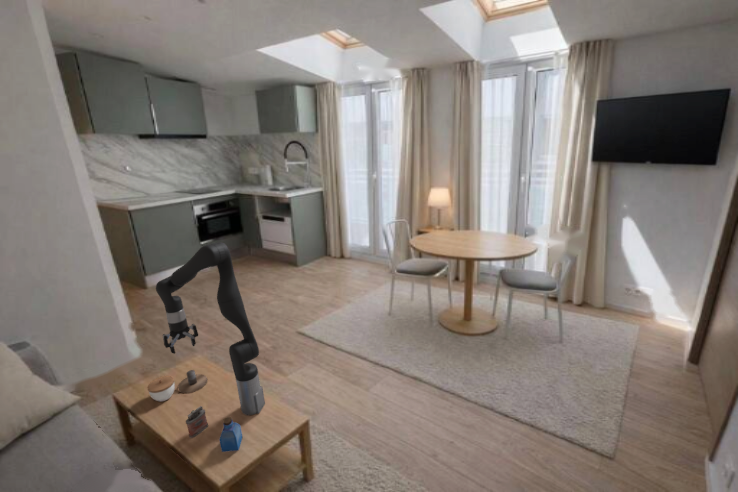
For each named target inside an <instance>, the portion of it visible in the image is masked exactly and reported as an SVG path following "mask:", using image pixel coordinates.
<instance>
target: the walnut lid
mask: <svg viewBox="0 0 738 492" xmlns="http://www.w3.org/2000/svg"><path fill="white" fill-rule="evenodd" d="M185 374H186V377H185V378H184V379H181V381H180V382H179V383H178V387H177V389H178V391H179V392H180V393H182V394H192V393H196V392H198V391H199V390H202V389H203V388H204V387H205V386H206V385H207V383H208V381H209V380H208V377H207V375H205V374H201V373H198V374H196V372H195V370H194V369H190V370H189V371H187V372H186V373H185Z"/></svg>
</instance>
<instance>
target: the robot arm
mask: <svg viewBox="0 0 738 492" xmlns="http://www.w3.org/2000/svg"><path fill="white" fill-rule="evenodd" d="M212 267H213V268H214V267H217V270H218V273H219V283H218V288H217V293H216V300H217V304H218V307H219V310H220V313H221V316H223V317H224V318H225V319H226V320H227V321H228V322H230V323H231V324H233V325H234V326H235V327H236V328H237V329H238V330H239V331H240V334H242V337H243V339H241V340H239V341H237V342H234V343H232V344H231V345H229V347H228V354H229V357H230V362H231V366H232V369H233V373H234V376H235V383H236V388H237V392H238V393H237V395H238V400H239V404H240V409H241V412H242V414H243V415H245V416H252V415H255V414H260V413H261V411H262V409H264V406H265V404H266V400H265V394H264V388H263V385H261V382H260V376H259V375H260V374H259V370H258V369H259V368H258V366H257V365H256V364H254V363H252V362H250V361H252V360H254V359H256V358H258V357H259V356H260V355H259V354H260V348H259V345H258V342H257V340H256V336H255V335H254V332H253V330H252V328H251V325H250V322H249V318H248V314H247V312H246V308H245V305H244V304H245V303H244V302H243V298H242V294H241V292H240V289H239V286H238V282H237V279H236V275H235V270H234V265H233V260H232V255H231V252H230V249H229V247H228V246H227V244H226V243H224V242H221V241H217V242H211V243H208V244H204V245H203V246H201V247H200V248H199V249H198V250H197V251H196V252H195V254H193V256H192V257H191V258H190V259H189V260H188V261H187V262H186V263H184V264H183V265H181V266H180V267H179V268H177V269H176V270H175V271H173V272H172V274H171V275H170V276H168V277H165V278H163V279H161V280H159V281H158V282H156V286H155V290H156V293H157V295H158V297H159V298H160V299H161V301H162V303H163V305H164V308H165V314H166V315H165V317H166V321H167V324H168V328H169V333H162V338H163V345H164V347H165V348H166V349H168V348H169V349H170V353H171V354H173V355H175V354H176V350H175V344H176V342H177V341H179V340H182V339H184V338H186V337H187V338H190V342H191V346H192V347H195V346H196V343H197V342H196V337H199V332H198V329H197V325H195V323H191V325H189V323H188V320H187V315H186V311H185V309H184V305H183V301H182V297H181V296H179V295H173V293H174V292H177V291H178V290H180V289H181V288H183V287H184V286H185V285H186V284H188V283H189V282H191V281H192V280H194V279H195V278H196V277H197V275H198V273H199V272H200V271H203V270H205V269H208V268H212ZM190 330H192V331H193V334H192V333H191V332H190ZM170 337H171V338H170ZM168 339H170V341H169V342H168Z"/></svg>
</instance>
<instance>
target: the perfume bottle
mask: <svg viewBox="0 0 738 492" xmlns="http://www.w3.org/2000/svg"><path fill="white" fill-rule="evenodd" d="M222 422H223V428H222V431H221V433H220V436H219V438H218V440H219V445H220V449H221V452H222V453H227V452H236V451H239V450H240V447H241V444H242V440H243V432H242V427H241V424H239V423H237V422H235V421H233V417H232V416H227V417H225V418H224V419H223V420H222Z"/></svg>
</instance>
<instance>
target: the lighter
mask: <svg viewBox="0 0 738 492" xmlns="http://www.w3.org/2000/svg"><path fill="white" fill-rule="evenodd" d="M187 417H188V418H187V419H186V420H185V424H186V426H187V427H186V428H187V429H188V430H187V431H188V436H189V437H188V438H189V439H193V438H195V437H197V436H198V435H200V434H201V433H202V432H204V431H205V430H206V429H207V428H208V427H209V423H208V420H207V415H206V409H204V408H203V406H202V405H200V406H198V407H197V408H196V409H195V410H192V411H191V412H189V414H188V415H187Z"/></svg>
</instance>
